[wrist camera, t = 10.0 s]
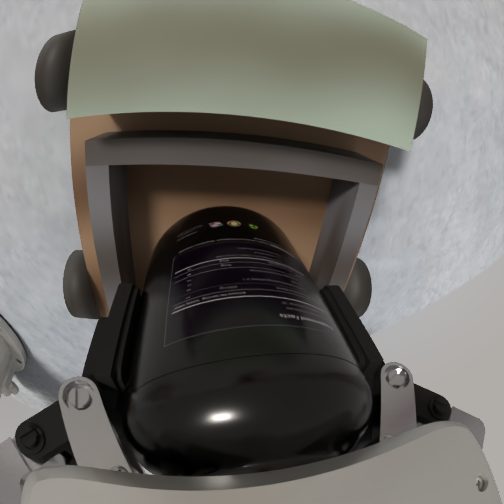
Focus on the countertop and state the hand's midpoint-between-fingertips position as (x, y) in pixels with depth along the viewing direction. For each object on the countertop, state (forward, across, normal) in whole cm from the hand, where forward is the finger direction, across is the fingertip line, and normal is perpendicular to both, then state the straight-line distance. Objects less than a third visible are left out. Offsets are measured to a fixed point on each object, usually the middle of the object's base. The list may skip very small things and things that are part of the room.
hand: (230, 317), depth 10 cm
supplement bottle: (+4, 0, 0) cm, 4 cm away
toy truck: (+8, 0, -3) cm, 9 cm away
